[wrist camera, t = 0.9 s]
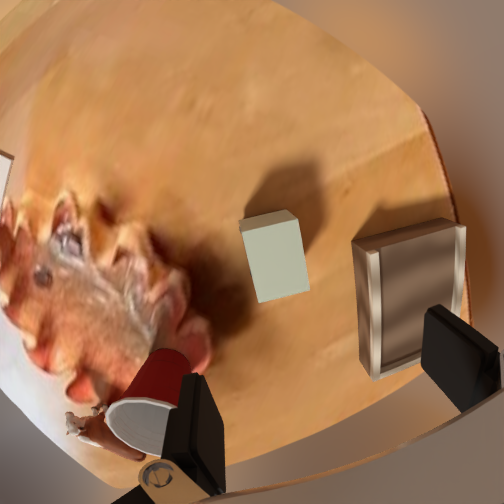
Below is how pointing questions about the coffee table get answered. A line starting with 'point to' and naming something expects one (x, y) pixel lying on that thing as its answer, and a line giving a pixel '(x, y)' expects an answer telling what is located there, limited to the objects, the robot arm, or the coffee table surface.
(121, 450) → the bull figurine
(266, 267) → the sage green cube
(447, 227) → the grey tray
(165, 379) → the plastic cup
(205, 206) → the coffee table surface
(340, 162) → the coffee table surface
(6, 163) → the photo frame
